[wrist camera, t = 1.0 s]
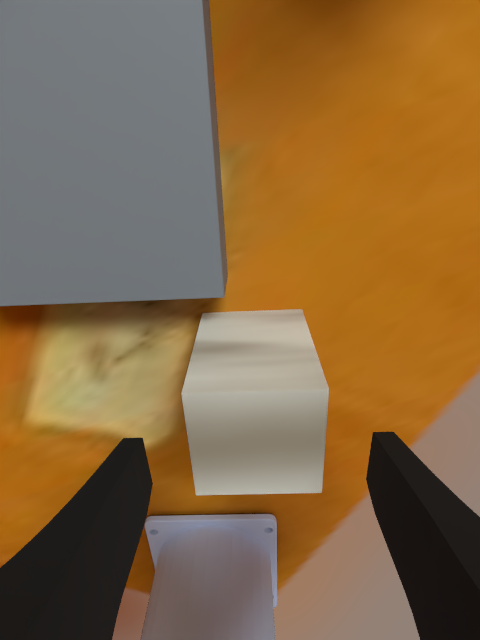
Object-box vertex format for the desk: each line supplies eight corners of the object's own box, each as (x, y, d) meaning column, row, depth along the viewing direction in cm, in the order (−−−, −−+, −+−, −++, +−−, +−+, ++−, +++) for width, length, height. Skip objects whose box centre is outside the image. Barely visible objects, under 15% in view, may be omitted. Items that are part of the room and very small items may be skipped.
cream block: (299, 390, 18) (321, 492, 13) (210, 393, 19) (196, 495, 13) (301, 309, 16) (328, 389, 11) (202, 312, 17) (181, 393, 11)
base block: (228, 271, 16) (224, 297, 13) (8, 281, 17) (-39, 307, 14) (208, -23, 12) (196, -73, 9) (-89, -1, 12) (-184, -42, 10)
